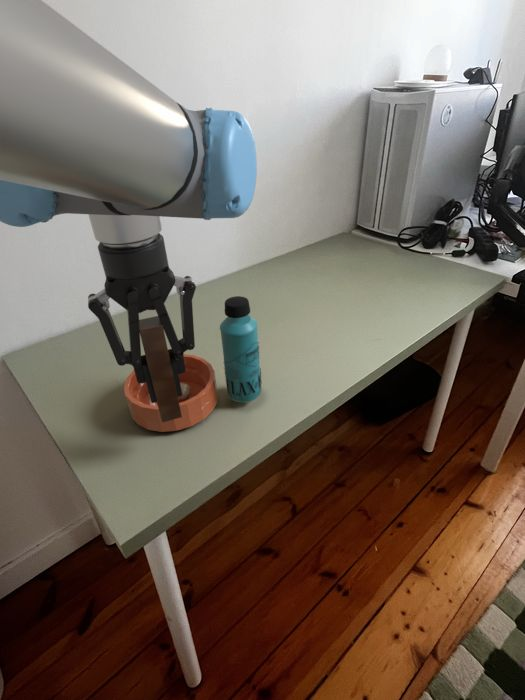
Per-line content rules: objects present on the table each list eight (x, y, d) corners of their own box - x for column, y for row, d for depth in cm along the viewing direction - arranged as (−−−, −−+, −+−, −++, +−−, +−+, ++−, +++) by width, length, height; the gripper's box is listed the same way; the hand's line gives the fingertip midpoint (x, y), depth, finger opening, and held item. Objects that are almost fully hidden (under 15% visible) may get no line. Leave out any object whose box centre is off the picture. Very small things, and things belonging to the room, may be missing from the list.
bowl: (178, 448, 70) (172, 421, 66) (113, 416, 77) (104, 389, 74) (235, 394, 80) (232, 368, 77) (173, 370, 88) (167, 345, 85)
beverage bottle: (221, 405, 78) (208, 307, 67) (236, 383, 83) (226, 289, 72) (254, 413, 76) (246, 313, 65) (268, 390, 81) (263, 293, 70)
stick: (178, 405, 67) (159, 315, 58) (182, 417, 65) (162, 325, 56) (159, 410, 66) (136, 320, 57) (162, 422, 64) (139, 330, 55)
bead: (188, 393, 76) (173, 384, 76) (182, 406, 77) (167, 397, 77) (196, 385, 78) (181, 376, 79) (190, 398, 80) (176, 389, 80)
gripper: (191, 218, 55) (213, 367, 68) (58, 238, 51) (108, 392, 64) (204, 236, 49) (225, 395, 62) (54, 260, 45) (110, 425, 58)
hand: (165, 393), depth 63 cm, fingers closed on stick, 3 cm apart
